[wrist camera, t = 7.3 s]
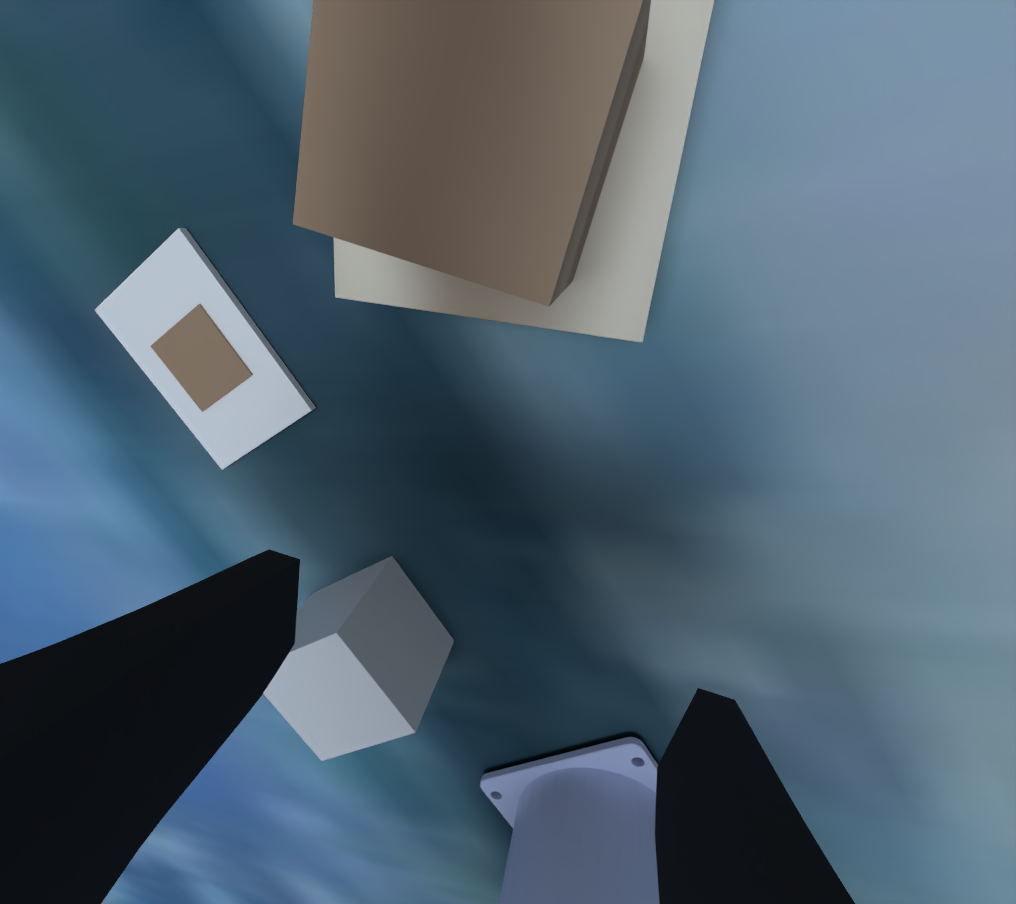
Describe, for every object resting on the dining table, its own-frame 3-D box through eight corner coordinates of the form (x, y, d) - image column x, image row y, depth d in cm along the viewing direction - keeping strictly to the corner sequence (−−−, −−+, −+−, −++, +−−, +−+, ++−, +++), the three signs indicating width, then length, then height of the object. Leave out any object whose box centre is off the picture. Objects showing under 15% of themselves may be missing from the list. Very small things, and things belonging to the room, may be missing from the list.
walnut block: (643, 57, 11) (656, -45, 7) (572, 280, 13) (548, 306, 9) (435, -3, 11) (325, -136, 7) (396, 224, 13) (292, 223, 9)
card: (316, 407, 19) (309, 411, 19) (227, 466, 21) (220, 470, 20) (185, 228, 17) (176, 228, 17) (102, 308, 19) (92, 310, 19)
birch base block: (708, -17, 13) (734, -97, 10) (639, 320, 16) (642, 342, 13) (394, -32, 14) (325, -109, 11) (389, 284, 17) (334, 297, 14)
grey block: (454, 639, 22) (415, 732, 18) (374, 669, 24) (321, 760, 20) (393, 554, 21) (336, 632, 17) (313, 591, 23) (244, 671, 19)
